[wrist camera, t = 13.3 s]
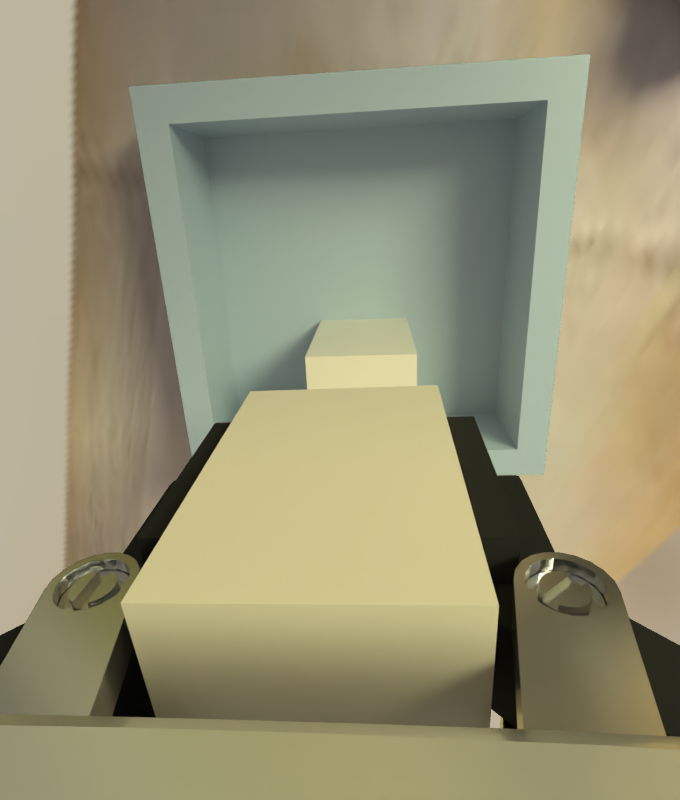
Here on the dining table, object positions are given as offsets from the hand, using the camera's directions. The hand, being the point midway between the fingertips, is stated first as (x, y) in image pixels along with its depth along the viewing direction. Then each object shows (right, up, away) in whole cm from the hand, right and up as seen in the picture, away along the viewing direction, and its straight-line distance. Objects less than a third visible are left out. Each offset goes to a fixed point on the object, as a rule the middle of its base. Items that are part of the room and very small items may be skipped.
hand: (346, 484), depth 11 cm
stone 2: (0, 0, +1) cm, 1 cm away
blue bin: (+1, +7, +13) cm, 15 cm away
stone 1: (+1, +4, +13) cm, 14 cm away
